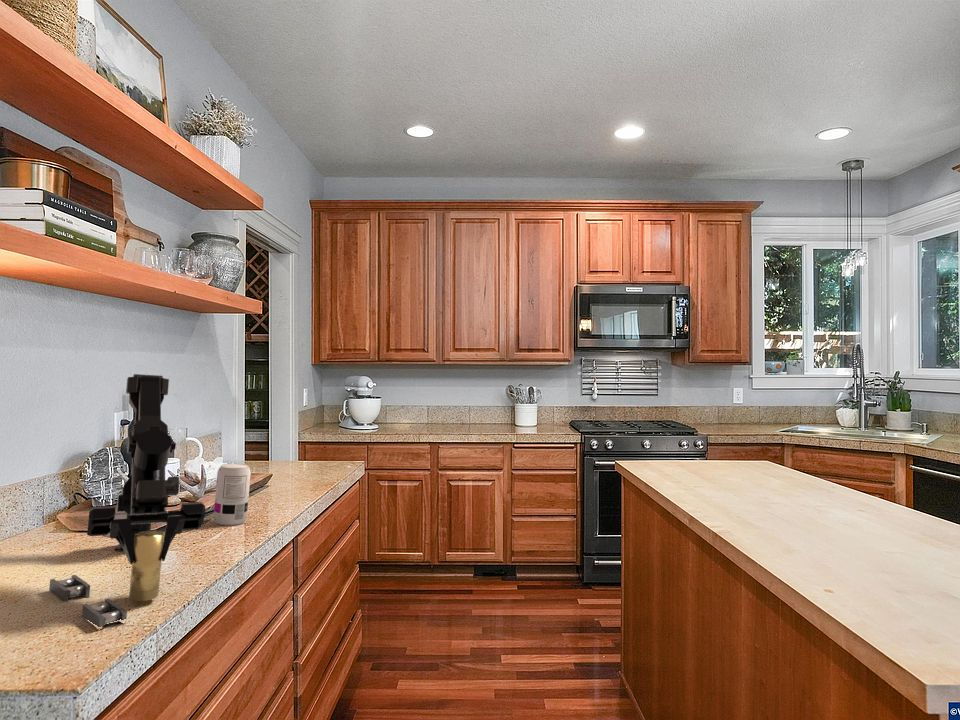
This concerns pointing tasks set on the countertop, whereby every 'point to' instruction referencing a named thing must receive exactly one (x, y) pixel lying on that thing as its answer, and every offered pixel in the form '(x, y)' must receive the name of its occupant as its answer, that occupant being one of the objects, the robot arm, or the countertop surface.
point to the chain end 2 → (103, 613)
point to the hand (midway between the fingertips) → (147, 561)
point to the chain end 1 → (69, 588)
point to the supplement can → (232, 494)
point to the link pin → (146, 565)
